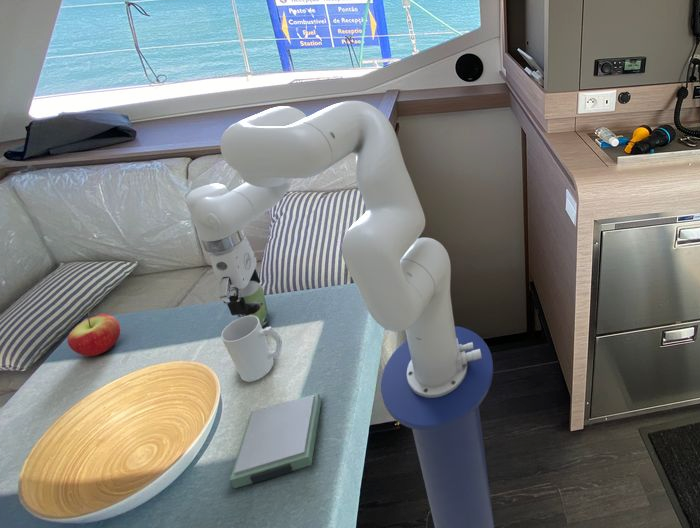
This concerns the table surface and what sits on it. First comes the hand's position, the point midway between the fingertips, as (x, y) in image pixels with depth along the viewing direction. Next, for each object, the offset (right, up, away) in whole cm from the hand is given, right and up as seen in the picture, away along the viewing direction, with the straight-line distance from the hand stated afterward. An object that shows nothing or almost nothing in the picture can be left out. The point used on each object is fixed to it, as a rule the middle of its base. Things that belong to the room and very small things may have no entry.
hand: (246, 298), depth 98 cm
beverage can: (+1, -8, +3) cm, 9 cm away
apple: (-33, -12, -1) cm, 35 cm away
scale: (+21, -18, -23) cm, 35 cm away
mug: (+9, -12, -8) cm, 17 cm away
